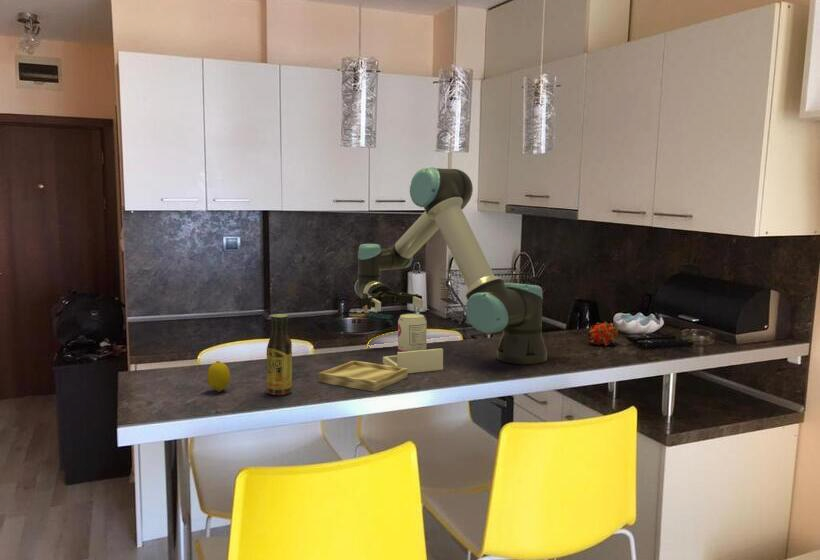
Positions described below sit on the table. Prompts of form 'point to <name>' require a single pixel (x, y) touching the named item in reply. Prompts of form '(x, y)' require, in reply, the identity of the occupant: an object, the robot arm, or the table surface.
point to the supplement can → (412, 332)
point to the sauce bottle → (279, 357)
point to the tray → (363, 375)
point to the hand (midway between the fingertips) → (401, 305)
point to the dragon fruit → (603, 333)
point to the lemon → (218, 376)
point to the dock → (417, 360)
